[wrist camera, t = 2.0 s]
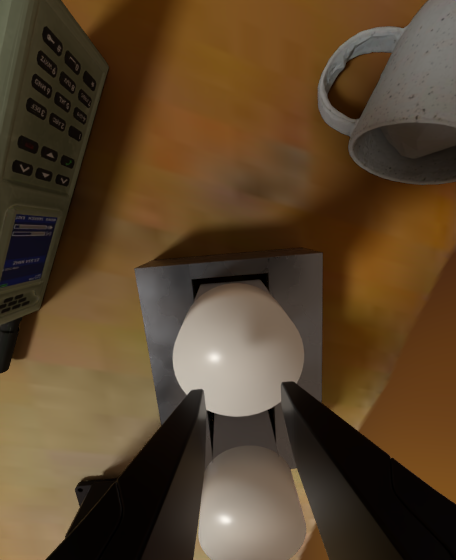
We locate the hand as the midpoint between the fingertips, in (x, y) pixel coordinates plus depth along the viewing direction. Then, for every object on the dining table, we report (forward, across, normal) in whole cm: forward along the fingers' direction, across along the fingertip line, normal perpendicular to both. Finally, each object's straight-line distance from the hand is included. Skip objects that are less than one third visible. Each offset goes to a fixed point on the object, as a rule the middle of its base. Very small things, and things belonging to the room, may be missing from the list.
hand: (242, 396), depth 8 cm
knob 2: (+8, 0, +10) cm, 13 cm away
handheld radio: (+12, +14, -7) cm, 20 cm away
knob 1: (+9, 0, 0) cm, 9 cm away
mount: (+12, 0, +5) cm, 13 cm away
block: (+12, -12, -12) cm, 21 cm away
